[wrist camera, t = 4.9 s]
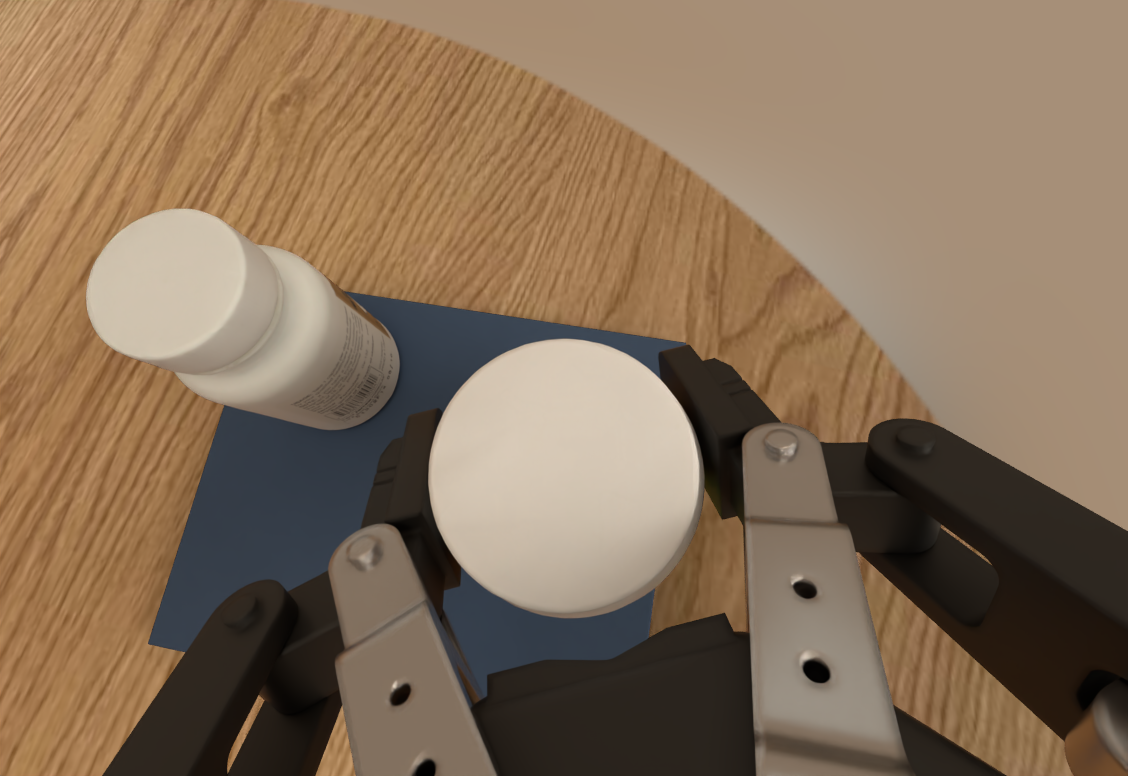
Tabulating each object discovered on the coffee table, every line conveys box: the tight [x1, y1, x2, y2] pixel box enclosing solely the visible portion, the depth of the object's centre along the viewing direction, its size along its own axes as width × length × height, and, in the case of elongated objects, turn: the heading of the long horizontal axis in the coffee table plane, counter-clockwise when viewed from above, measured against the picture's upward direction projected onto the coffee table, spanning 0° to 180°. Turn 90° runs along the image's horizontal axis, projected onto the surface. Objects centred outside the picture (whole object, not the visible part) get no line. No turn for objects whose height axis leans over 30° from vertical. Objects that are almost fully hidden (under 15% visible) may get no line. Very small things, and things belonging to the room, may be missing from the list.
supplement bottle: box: [428, 339, 705, 618], centre depth 12 cm, size 5×5×10 cm
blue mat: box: [148, 292, 686, 697], centre depth 17 cm, size 16×13×1 cm
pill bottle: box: [86, 209, 400, 430], centre depth 14 cm, size 4×4×8 cm
